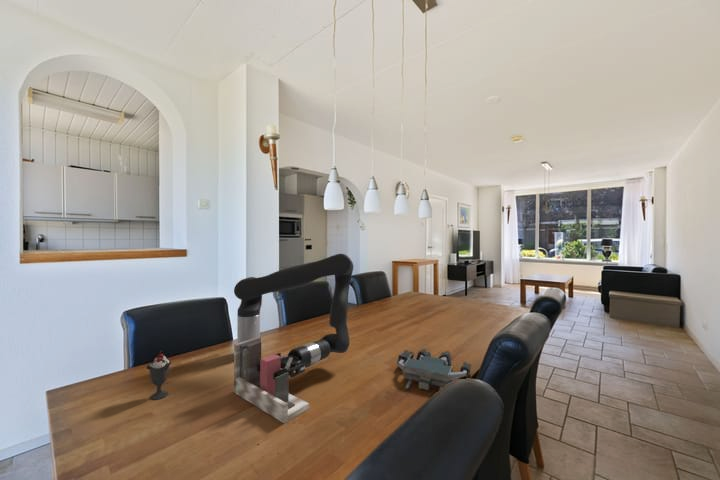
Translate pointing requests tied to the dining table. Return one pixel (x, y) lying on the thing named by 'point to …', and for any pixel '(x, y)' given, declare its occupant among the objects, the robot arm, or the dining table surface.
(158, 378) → the sundae
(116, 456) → the dining table surface
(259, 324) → the robot arm
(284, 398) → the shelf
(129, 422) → the dining table surface
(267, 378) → the book
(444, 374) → the toy
